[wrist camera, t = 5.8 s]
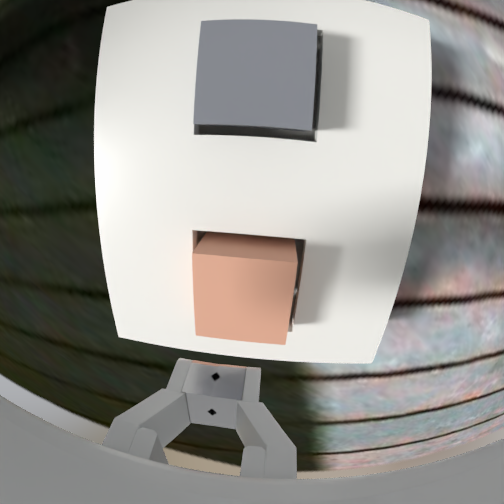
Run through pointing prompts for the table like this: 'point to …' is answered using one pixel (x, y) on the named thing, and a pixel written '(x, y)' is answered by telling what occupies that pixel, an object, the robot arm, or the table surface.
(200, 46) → the charcoal key
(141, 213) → the button panel
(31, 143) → the table surface
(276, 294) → the terracotta key
